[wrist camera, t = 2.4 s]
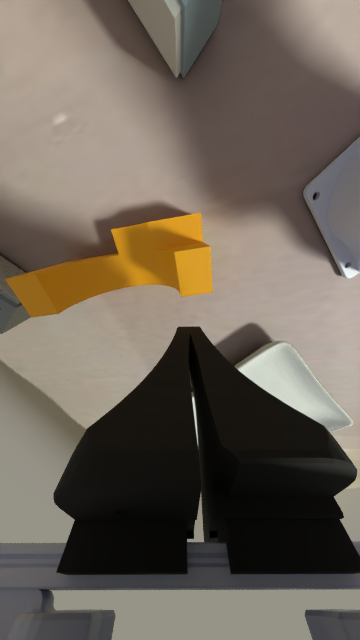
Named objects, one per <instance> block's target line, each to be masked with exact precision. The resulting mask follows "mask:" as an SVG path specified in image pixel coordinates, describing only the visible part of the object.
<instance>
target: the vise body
mask: <svg viewBox="0 0 360 640" xmlns="http://www.w3.org/2000/svg"><path fill="white" fill-rule="evenodd" d="M21 274H25V272H24V271H22V270H21V269H19V268H18V267H16V266H15V265H13V264H12V263H11V262H9V261H8V260H6V259H5V258H3V257H2V256H0V334H3V333H4V332H6V331H8V330H10V329H11V328H13V327H15V326H17V325H18V324H20V323H22V322H23V321H25V320H27V319H29V318H30V317H31V316H30V315H29V313H28V312H27V310H26V309H25V307H24V306H23V305H22V303H21V302H20V300H19V299H18V297H17V296H16V294H15V293H14V292H13V290H12V289H11V287H10V286H9V284H8V283H7V281H6V280H5V279H7V278H10V277H14V276H18V275H21Z"/></svg>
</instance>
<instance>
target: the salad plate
mask: <svg viewBox="0 0 360 640" xmlns="http://www.w3.org/2000/svg"><path fill="white" fill-rule="evenodd" d="M234 367H235V368H236V369H238V370H239V371H240V372H241V373H242V374H244V375H245V376H246V377H248V378H249V379H250V380H252V381H253V382H254V383H256V384H257V385H258V386H260V387H261V388H263V389H264V390H266V391H267V392H268V393H270V394H272V395H273V396H275V397H276V398H278V399H279V400H281V401H282V402H284V403H286V404H287V405H289V406H291V407H292V408H294V409H296V410H298V411H299V412H301V413H303V414H305V415H306V416H308V417H310V418H312V419H313V420H315V421H317V422H319V423H320V424H322V425H324V426H325V427H326V429H327V430H328V431H329V432H330V433H331V432H334V431H337V430H340V429H343V428H346V427H349V426H351V425H352V424H353V421H352V419H351V418H350V417H349V416H348V414H347V413H346V412H345V411H344V410H343V409H342V408H341V407H340V406H339V405H338V404H337V403H336V402H335V400H334V399H333V398H332V397H331V396H330V395H329V394H328V392H327V391H326V390H325V389H324V388H323V386H322V385H321V384H320V383H319V381H318V380H317V379H316V377H315V376H314V375H313V373H312V372H311V370H310V369H309V367H308V366H307V364H306V363H305V361H304V360H303V359H302V357H301V356H300V355H299V353H298V352H297V351H296V350H295V349H294V348H293V346H292V345H291V344H289V343H288V342H286V341H275V342H271V343H268V344H266V345H264V346H263V347H261V348H259V349H258V350H256V351H255V352H253V353H252V354H251V355H249V356H248V357H246V358H245V359H243V360H242V361H240V362H239V363H238V364H236V365H235V366H234ZM191 393H192V402H193V411H194V419H195V427H196V435H197V442H198V434H197V420H196V408H195V401H194V395H193V392H191Z"/></svg>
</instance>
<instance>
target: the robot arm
mask: <svg viewBox="0 0 360 640" xmlns="http://www.w3.org/2000/svg"><path fill="white" fill-rule="evenodd" d="M314 193H316V198H315V199H314V200H313V198H312V197H313V194H314ZM303 196H304V198H305V200H306V202H307V205H308V207H309V209H310V211H311V213H312V215H313V217H314V219H315V221H316V223H317V225H318V227H319V229H320V231H321V233H322V235H323V237H324V239H325V241H326V243H327V245H328V247H329V250H330V252H331V254H332V256H333V258H334V260H335V262H336V264H337V266H338V268H339V270H340V272H341V274H342V276H343V277H345V278H352V277H353V276H355V275H357V274H358V273H360V137H359V138H358V139H357V140H355V141H354V142H353V143H352V144H351V145H350V146H349V147H348V148H347V149H346V150H345V151H344V152H342V153H341V154H340V155H339V156H338V157H337V158H336V159H335V160H334V161H333V162H332V163H330V164H329V165H328V166H327V167H326V168H325V169H324V170H323V171H322V172H321V173H320V174H319V175H317V176H316V177H315V178H314V179H313V180H312V181H311V182H310V183H309V184H308V185H307V186H306V187H305V189H304V191H303ZM346 263H347V265H346V266H345V264H346ZM189 370H190V373H189ZM190 376H191V382H192V388H193V395H194V401H195V408H196V420H197V434H198V442H197V435H196V427H195V419H194V411H193V402H192V393H191V383H190ZM198 449H199V450H198ZM356 476H357V469H356V468H355V466H354V464H353V463H352V462H351V460H350V459H349V458H348V456H347V455H346V453H345V452H344V451H343V449H342V448H341V447H340V445H339V444H338V442H337V441H336V440H335V439H334V437H333V436H332V435H331V434H330V432H329V431H328V430H327V429H326V427H325V426H324V425H322V424H320V423H319V422H317V421H315V420H313V419H312V418H310V417H308V416H306V415H305V414H303V413H301V412H299V411H298V410H296V409H294V408H292V407H291V406H289V405H287V404H286V403H284V402H282V401H281V400H279V399H278V398H276V397H275V396H273V395H272V394H270V393H268V392H267V391H266V390H264V389H263V388H261V387H260V386H258V385H257V384H256V383H254V382H253V381H252V380H250V379H249V378H248V377H246V376H245V375H244V374H242V373H241V372H240V371H239V370H238V369H236V368H235V367H234V366H233V365H232V364H231V363H230V362H229V361H228V360H227V359H226V358H225V357H224V356H223V355H222V354H221V353H220V352H219V351H218V350H217V349H216V348H215V346H214V345H213V344H212V343H211V342H210V340H209V339H208V338H207V337H206V335H205V334H204V332H203V331H202V329H201V328H200V327H178V328H177V331H176V333H175V336H174V338H173V340H172V342H171V344H170V345H169V347H168V349H167V350H166V352H165V353H164V355H163V356H162V358H161V359H160V361H159V362H158V363H157V365H156V366H155V367H154V368H153V370H152V371H151V372H150V373H149V374H148V375H147V376H146V378H145V379H144V380H143V381H142V382H141V383H140V384H139V385H138V386H137V387H136V388H135V389H134V390H133V391H132V392H131V393H130V394H128V395H127V396H126V397H125V398H124V399H123V400H122V401H121V402H120V403H119V404H117V405H116V406H115V407H114V408H113V409H111V410H110V411H109V412H108V413H106V414H105V415H104V416H103V417H101V418H100V419H99V420H98V421H96V422H95V423H94V424H93V425H91V426H90V427H89V428H87V430H86V432H85V434H84V435H83V437H82V439H81V440H80V442H79V444H78V445H77V447H76V449H75V451H74V452H73V454H72V456H71V458H70V461H69V463H68V465H67V467H66V469H65V471H64V473H63V475H62V477H61V479H60V481H59V483H58V485H57V488H56V490H55V492H54V502H55V504H56V505H57V506H58V507H59V508H60V509H61V510H63V511H64V512H65V513H67V514H68V515H69V516H71V517H72V518H74V519H75V521H74V524H73V527H72V529H71V533H70V535H69V538H68V541H67V543H0V640H111V638H112V632H113V626H114V620H115V613H114V610H61V611H60V610H59V611H56V610H55V609H54V607H53V602H54V597H53V594H52V591H49V590H240V589H241V590H244V589H246V590H250V589H251V590H254V589H255V590H257V589H258V590H260V589H261V590H266V589H267V590H269V589H270V590H275V589H277V590H278V589H360V542H352V541H351V539H350V538H349V536H348V534H347V532H346V530H345V528H344V527H343V525H342V523H341V521H340V519H342V518H344V516H343V512H342V511H341V509H340V507H339V506H338V504H337V502H336V500H335V499H334V496H335V495H336V494H338V493H339V492H341V491H342V490H344V489H345V488H346V487H348V486H349V485H350V484H351V483H353V482H354V481H355V479H356ZM200 493H201V497H202V514H203V531H204V542H197V543H196V542H193V543H192V542H187V539H194V524H195V520H196V519H197V514H198V507H199V500H200ZM305 617H306V621H307V624H308V627H309V630H310V633H311V636H312V639H313V640H360V610H344V609H325V610H306V611H305Z"/></svg>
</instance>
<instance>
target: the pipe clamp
mask: <svg viewBox="0 0 360 640" xmlns="http://www.w3.org/2000/svg"><path fill="white" fill-rule="evenodd" d="M111 231H112V234H113V238H114V241H115V244H116V247H117V250H118V253H115V254H109V255H103V256H97V257H91V258H85V259H79V260H73V261H68V262H64V263H61V264H57V265H54V266H50V267H46V268H43V269H39V270H36V271H32V272H28V273H25V274H21V275H18V276H14V277H10V278H7V279H5V280H6V281H7V283H8V284H9V286H10V287H11V289H12V290H13V292H14V293H15V294H16V296H17V297H18V299H19V300H20V302H21V303H22V305H23V306H24V307H25V309H26V310H27V312H28V313H29V315H30V316H31V317H38V316H45V315H52V314H59V313H60V312H62V311H63V310H65V309H67V308H69V307H71V306H72V305H74V304H77V303H79V302H81V301H83V300H86V299H88V298H91V297H93V296H96V295H99V294H102V293H105V292H109V291H112V290H116V289H121V288H125V287H131V286H138V285H150V284H156V285H166V286H170V287H173V288H175V289H177V290H178V291H179V292H180V294H181V297H183V296H190V295H198V294H205V293H212V292H213V290H212V270H211V249H210V246H209V245H207V244H205V243H203V236H202V222H201V213H196V214H191V215H185V216H179V217H174V218H168V219H162V220H157V221H151V222H146V223H142V224H137V225H132V226H127V227H122V228H116V229H111Z"/></svg>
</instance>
